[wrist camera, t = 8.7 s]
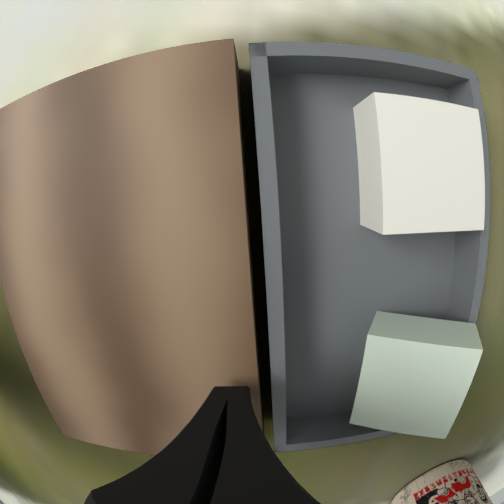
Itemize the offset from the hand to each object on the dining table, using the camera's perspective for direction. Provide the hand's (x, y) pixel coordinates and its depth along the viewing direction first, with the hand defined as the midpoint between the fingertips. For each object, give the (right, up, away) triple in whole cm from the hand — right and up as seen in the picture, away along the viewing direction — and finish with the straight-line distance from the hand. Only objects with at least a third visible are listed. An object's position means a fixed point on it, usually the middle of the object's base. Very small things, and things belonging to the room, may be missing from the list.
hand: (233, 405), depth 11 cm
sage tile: (+7, 0, 0) cm, 7 cm away
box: (+6, +5, +2) cm, 9 cm away
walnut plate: (-5, +5, +3) cm, 8 cm away
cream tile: (+8, +9, -1) cm, 12 cm away
